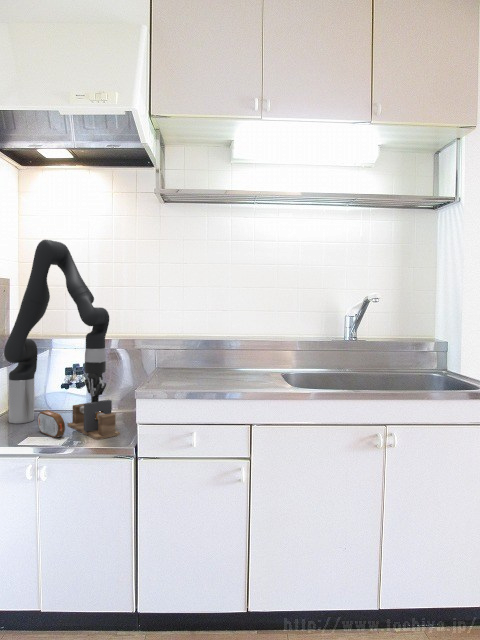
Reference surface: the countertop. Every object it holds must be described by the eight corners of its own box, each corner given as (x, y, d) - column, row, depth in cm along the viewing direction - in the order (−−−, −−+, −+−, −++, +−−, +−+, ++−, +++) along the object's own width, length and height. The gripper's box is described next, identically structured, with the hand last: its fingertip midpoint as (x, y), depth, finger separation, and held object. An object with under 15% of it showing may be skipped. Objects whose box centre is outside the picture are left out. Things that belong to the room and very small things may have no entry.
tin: (65, 438, 150) (66, 414, 150) (57, 440, 148) (57, 416, 148) (43, 430, 159) (44, 408, 159) (35, 432, 157) (35, 409, 157)
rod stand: (67, 425, 165) (67, 406, 165) (89, 421, 172) (89, 402, 172) (96, 440, 149) (97, 418, 148) (119, 434, 155) (120, 413, 155)
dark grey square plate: (83, 430, 155) (84, 403, 154) (108, 425, 162) (108, 399, 162) (86, 431, 153) (86, 404, 153) (111, 426, 160) (111, 400, 160)
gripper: (77, 359, 161) (77, 404, 161) (94, 362, 152) (94, 410, 152) (96, 357, 166) (95, 401, 167) (113, 361, 157) (112, 407, 157)
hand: (94, 405), depth 159 cm, fingers closed
